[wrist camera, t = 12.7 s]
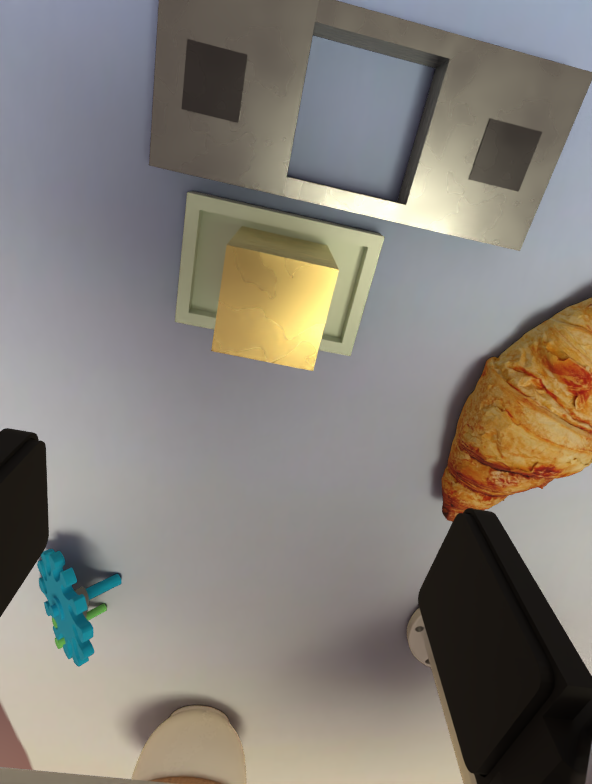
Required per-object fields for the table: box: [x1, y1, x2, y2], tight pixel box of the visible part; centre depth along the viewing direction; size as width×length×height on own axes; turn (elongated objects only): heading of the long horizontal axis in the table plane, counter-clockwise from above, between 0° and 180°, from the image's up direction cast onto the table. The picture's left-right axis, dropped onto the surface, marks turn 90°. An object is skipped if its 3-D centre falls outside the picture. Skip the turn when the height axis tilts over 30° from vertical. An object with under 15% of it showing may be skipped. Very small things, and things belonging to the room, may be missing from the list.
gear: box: [37, 549, 121, 667], centre depth 40 cm, size 11×6×10 cm
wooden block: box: [211, 226, 339, 371], centre depth 26 cm, size 6×6×8 cm
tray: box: [175, 191, 384, 356], centre depth 29 cm, size 12×8×2 cm, turn 78°
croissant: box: [442, 297, 592, 522], centre depth 32 cm, size 21×10×8 cm, turn 154°
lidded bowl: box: [132, 705, 246, 784], centre depth 49 cm, size 13×13×11 cm
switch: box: [149, 0, 592, 251], centre depth 25 cm, size 22×9×3 cm, turn 78°
